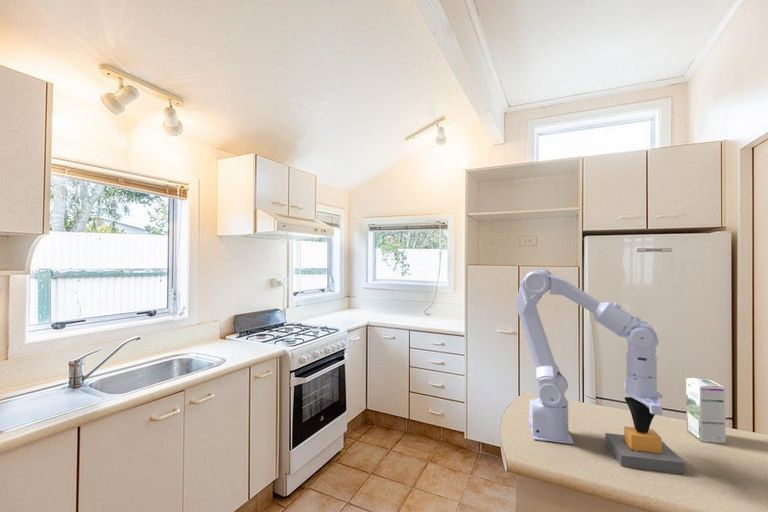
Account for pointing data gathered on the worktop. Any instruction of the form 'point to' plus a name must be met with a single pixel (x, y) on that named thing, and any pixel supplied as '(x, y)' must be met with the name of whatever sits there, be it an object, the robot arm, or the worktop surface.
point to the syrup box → (706, 410)
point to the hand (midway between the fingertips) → (641, 431)
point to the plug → (642, 440)
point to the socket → (644, 456)
